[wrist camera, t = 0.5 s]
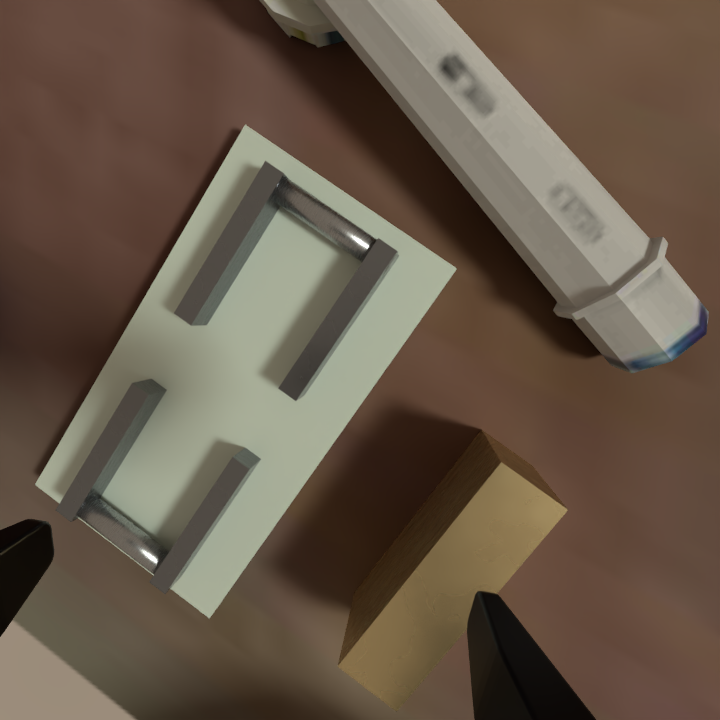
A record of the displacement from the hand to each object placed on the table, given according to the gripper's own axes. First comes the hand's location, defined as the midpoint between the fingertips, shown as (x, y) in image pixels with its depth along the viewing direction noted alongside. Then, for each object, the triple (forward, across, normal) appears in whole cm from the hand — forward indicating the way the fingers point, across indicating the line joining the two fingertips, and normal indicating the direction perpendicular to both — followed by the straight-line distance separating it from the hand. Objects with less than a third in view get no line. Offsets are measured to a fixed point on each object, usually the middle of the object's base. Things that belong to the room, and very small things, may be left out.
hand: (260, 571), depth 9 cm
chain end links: (+12, +5, +2) cm, 14 cm away
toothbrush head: (+16, -4, -11) cm, 20 cm away
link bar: (+11, -6, +7) cm, 15 cm away
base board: (+13, +5, +2) cm, 14 cm away
